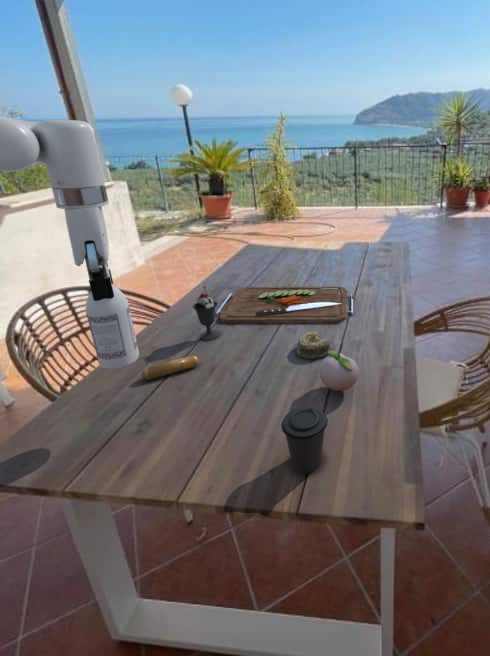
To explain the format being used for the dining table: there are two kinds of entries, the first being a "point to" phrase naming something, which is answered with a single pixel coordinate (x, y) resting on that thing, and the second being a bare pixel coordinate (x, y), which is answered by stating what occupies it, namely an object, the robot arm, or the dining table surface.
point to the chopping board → (286, 305)
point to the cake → (313, 346)
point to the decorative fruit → (338, 371)
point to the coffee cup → (305, 437)
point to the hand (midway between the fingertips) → (104, 293)
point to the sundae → (206, 314)
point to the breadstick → (169, 367)
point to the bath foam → (112, 330)
